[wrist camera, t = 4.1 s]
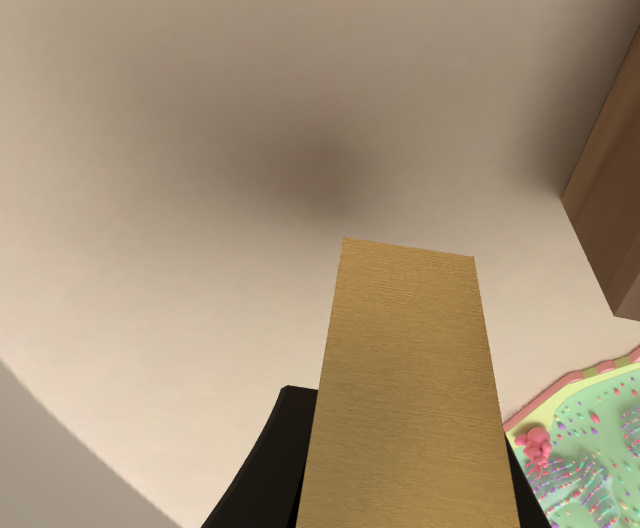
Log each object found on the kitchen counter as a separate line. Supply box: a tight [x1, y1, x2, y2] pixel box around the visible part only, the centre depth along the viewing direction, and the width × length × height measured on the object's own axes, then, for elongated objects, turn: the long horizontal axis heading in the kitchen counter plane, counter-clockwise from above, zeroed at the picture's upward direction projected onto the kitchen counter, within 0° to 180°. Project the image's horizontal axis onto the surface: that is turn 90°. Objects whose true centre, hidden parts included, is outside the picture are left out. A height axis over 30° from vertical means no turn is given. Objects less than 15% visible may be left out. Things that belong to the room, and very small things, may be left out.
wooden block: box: [296, 238, 520, 528], centre depth 10 cm, size 2×5×6 cm, turn 174°
